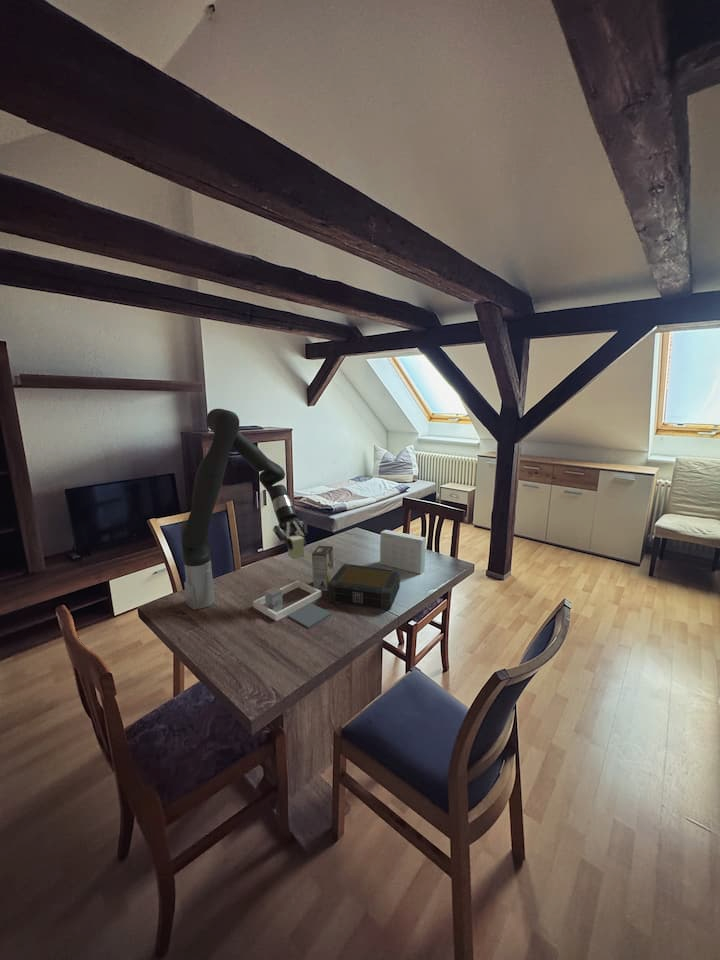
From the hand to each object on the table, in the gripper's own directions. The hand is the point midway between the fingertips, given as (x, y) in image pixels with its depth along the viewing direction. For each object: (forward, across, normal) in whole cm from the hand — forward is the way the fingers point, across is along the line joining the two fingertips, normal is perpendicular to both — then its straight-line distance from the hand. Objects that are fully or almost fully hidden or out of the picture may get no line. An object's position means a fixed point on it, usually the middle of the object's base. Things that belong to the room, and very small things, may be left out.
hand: (298, 547), depth 145 cm
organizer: (+15, -4, +16) cm, 22 cm away
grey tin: (+16, -11, +14) cm, 24 cm away
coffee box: (+12, +13, +18) cm, 26 cm away
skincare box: (+16, +52, +14) cm, 56 cm away
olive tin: (+2, 0, +4) cm, 5 cm away
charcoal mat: (+24, -2, +6) cm, 25 cm away
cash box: (+24, +23, +7) cm, 34 cm away
